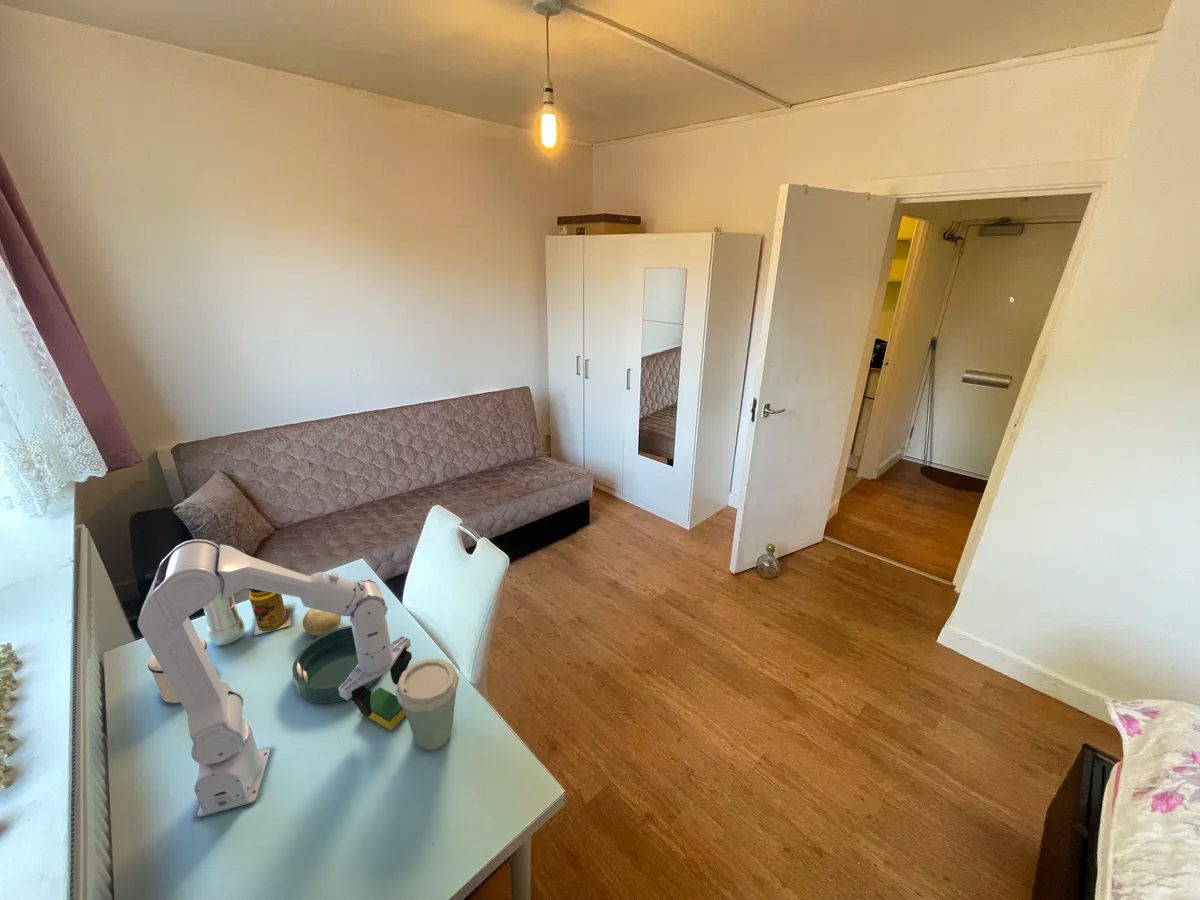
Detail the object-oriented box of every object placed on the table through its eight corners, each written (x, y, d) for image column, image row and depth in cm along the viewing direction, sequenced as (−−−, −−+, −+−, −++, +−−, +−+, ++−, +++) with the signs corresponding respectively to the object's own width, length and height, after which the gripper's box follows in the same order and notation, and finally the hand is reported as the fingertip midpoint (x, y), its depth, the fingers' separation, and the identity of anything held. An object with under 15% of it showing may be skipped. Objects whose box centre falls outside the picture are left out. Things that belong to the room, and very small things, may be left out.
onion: (350, 623, 118) (345, 599, 116) (322, 645, 111) (316, 620, 109) (326, 614, 121) (320, 590, 118) (297, 635, 114) (291, 611, 111)
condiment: (254, 636, 113) (241, 594, 109) (257, 613, 120) (246, 573, 116) (290, 626, 117) (279, 585, 112) (292, 605, 124) (282, 565, 119)
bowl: (385, 692, 100) (382, 676, 98) (287, 715, 94) (283, 698, 93) (390, 633, 115) (387, 618, 114) (305, 650, 110) (302, 634, 108)
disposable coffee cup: (442, 701, 98) (435, 644, 93) (475, 733, 92) (470, 673, 87) (393, 738, 91) (382, 677, 85) (425, 775, 84) (416, 712, 79)
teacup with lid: (225, 682, 101) (210, 638, 97) (170, 713, 94) (152, 667, 90) (201, 656, 107) (186, 614, 103) (148, 684, 100) (130, 639, 96)
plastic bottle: (214, 633, 114) (191, 561, 106) (249, 625, 117) (228, 554, 109) (207, 652, 108) (182, 577, 101) (244, 643, 111) (222, 570, 104)
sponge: (408, 712, 96) (407, 701, 95) (390, 730, 92) (388, 719, 91) (381, 697, 99) (379, 686, 98) (363, 714, 95) (360, 703, 94)
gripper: (388, 612, 97) (397, 664, 102) (321, 662, 85) (334, 719, 90) (415, 624, 94) (422, 677, 99) (349, 677, 82) (361, 735, 87)
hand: (382, 698), depth 94 cm, fingers open, 7 cm apart
